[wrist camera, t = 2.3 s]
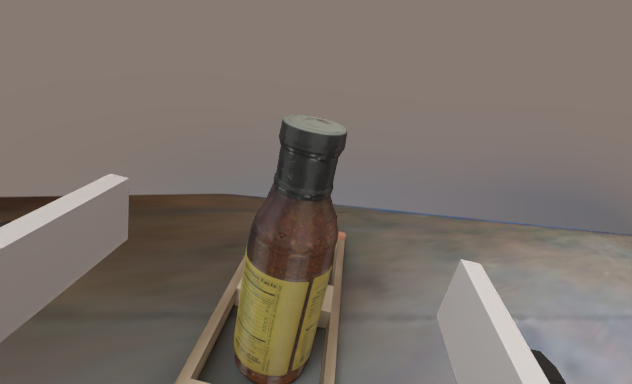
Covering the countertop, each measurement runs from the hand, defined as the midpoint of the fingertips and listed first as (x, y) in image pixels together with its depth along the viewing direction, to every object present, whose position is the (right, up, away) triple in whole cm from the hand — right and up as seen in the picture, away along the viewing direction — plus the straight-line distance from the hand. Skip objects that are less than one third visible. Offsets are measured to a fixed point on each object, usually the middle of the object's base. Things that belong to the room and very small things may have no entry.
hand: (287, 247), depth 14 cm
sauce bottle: (-3, -12, +16) cm, 20 cm away
